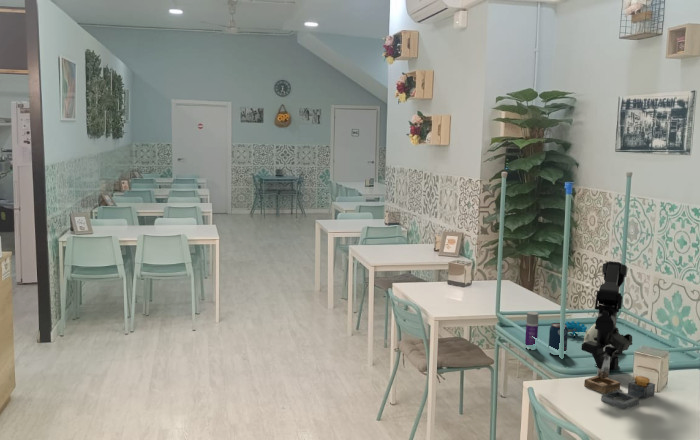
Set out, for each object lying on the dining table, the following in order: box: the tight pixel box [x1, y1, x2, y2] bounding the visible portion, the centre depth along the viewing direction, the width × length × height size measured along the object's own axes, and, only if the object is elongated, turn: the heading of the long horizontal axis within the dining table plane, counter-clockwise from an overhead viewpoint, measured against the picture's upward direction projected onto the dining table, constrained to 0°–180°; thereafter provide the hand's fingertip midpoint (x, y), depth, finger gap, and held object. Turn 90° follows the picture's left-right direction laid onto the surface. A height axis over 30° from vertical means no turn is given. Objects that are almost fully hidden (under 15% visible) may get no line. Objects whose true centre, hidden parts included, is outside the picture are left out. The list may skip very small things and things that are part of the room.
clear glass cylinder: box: [596, 354, 610, 378], centre depth 233 cm, size 4×4×8 cm
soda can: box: [548, 322, 569, 351], centre depth 267 cm, size 7×7×12 cm
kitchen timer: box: [582, 323, 597, 344], centre depth 273 cm, size 14×14×15 cm
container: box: [524, 311, 539, 345], centre depth 272 cm, size 5×5×15 cm
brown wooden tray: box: [583, 375, 621, 395], centre depth 234 cm, size 8×8×2 cm
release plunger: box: [634, 375, 651, 386], centre depth 228 cm, size 5×5×5 cm
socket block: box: [600, 379, 656, 410], centre depth 224 cm, size 8×19×4 cm, turn 125°
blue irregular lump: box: [565, 320, 588, 335], centre depth 289 cm, size 11×6×10 cm
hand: (603, 367), depth 233 cm, fingers closed on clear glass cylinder, 4 cm apart
